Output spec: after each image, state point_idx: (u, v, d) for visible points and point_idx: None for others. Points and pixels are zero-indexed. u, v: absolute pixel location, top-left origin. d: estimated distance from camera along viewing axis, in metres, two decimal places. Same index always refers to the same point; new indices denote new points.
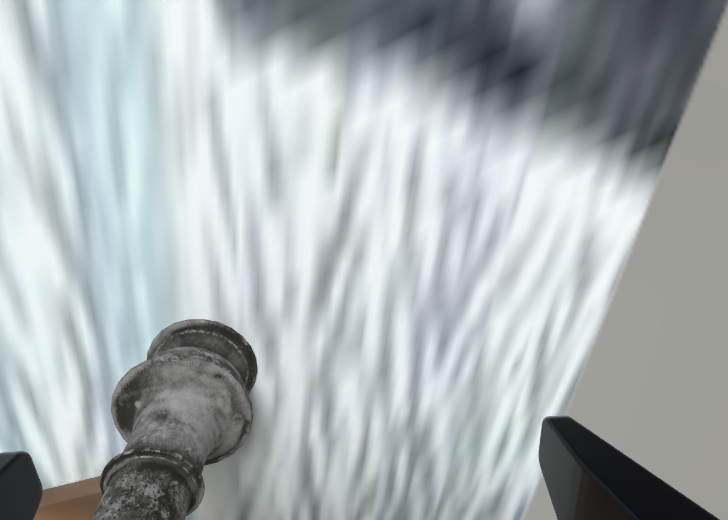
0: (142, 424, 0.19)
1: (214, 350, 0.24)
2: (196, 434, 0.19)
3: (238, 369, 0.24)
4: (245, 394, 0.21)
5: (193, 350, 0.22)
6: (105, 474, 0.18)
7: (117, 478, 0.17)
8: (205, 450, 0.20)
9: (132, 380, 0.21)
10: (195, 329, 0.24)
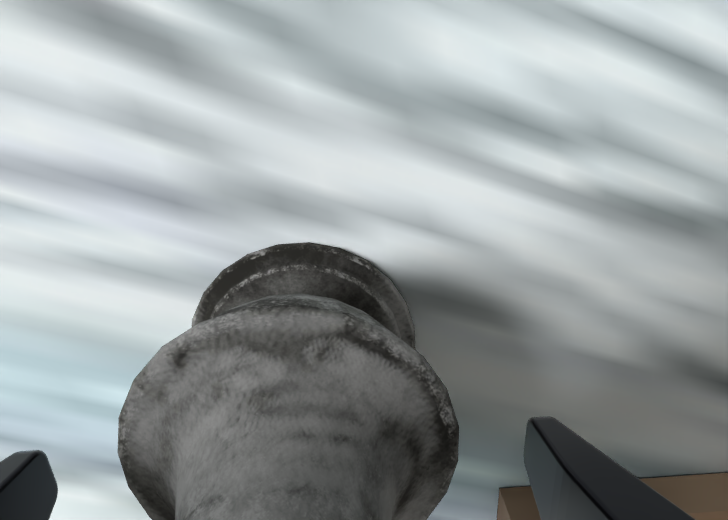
0: None
1: None
2: (225, 501, 0.06)
3: (314, 286, 0.11)
4: (258, 311, 0.08)
5: None
6: None
7: None
8: (289, 498, 0.06)
9: (167, 519, 0.09)
10: None
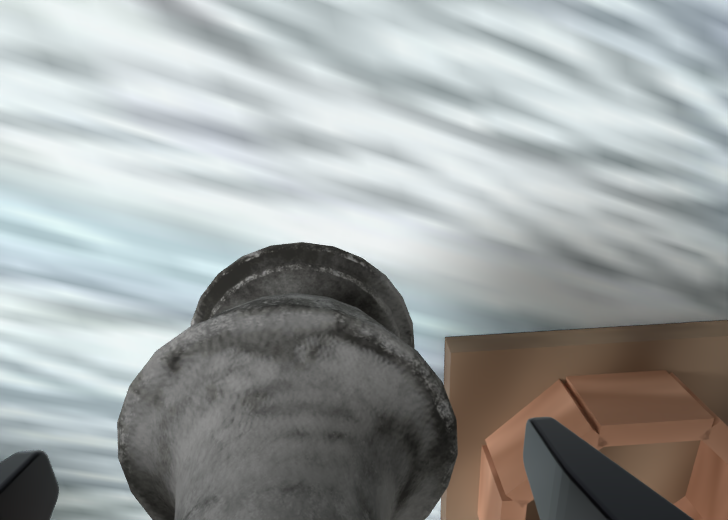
0: None
1: None
2: (220, 501, 0.06)
3: (310, 285, 0.11)
4: (248, 311, 0.08)
5: None
6: None
7: None
8: (282, 496, 0.06)
9: None
10: None
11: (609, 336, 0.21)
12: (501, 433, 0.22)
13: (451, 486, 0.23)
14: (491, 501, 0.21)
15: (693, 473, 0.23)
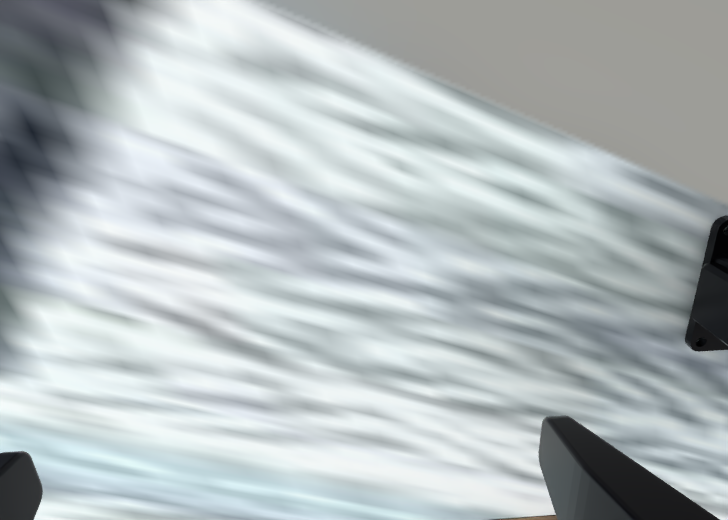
0: None
1: None
2: None
3: None
4: None
5: None
6: None
7: None
8: None
9: None
10: None
11: None
12: None
13: None
14: None
15: None
